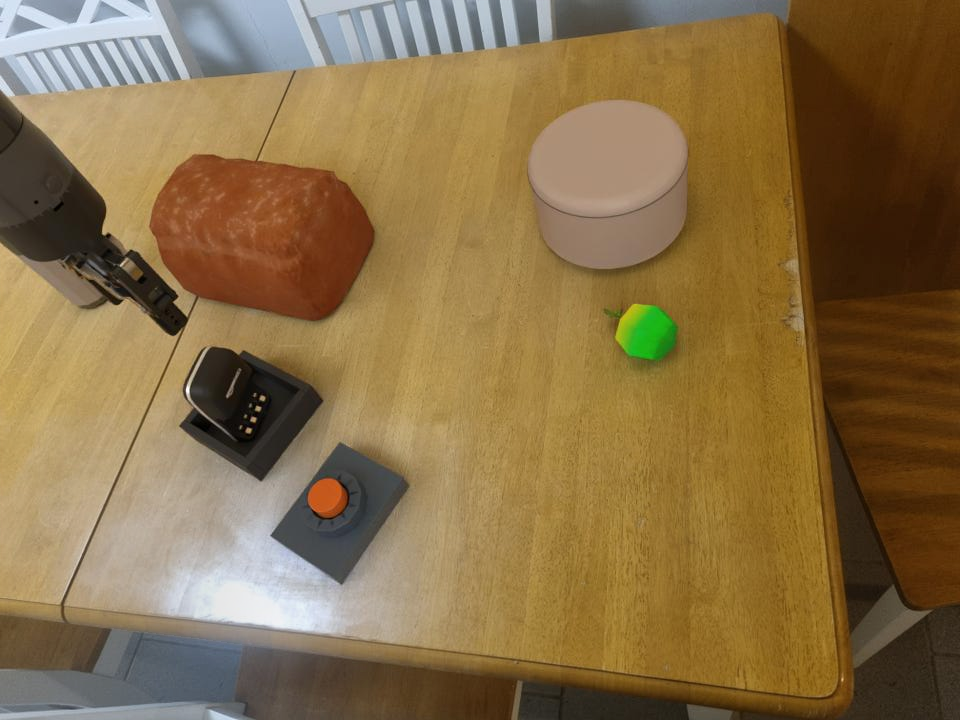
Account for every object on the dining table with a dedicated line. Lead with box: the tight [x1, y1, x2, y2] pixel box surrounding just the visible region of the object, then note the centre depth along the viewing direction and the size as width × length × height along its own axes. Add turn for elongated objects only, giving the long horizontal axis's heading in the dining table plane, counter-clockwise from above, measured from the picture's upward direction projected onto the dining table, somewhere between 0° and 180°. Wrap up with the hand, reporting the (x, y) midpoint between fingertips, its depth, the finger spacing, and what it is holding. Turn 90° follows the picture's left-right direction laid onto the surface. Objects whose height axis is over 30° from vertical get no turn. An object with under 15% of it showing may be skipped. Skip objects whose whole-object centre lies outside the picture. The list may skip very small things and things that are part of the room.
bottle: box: [0, 235, 107, 310], centre depth 93 cm, size 7×7×30 cm
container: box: [526, 99, 690, 270], centre depth 86 cm, size 18×18×12 cm
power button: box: [308, 478, 348, 518], centre depth 74 cm, size 4×4×2 cm
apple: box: [601, 303, 679, 362], centre depth 78 cm, size 7×6×9 cm
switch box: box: [269, 441, 410, 586], centre depth 76 cm, size 12×9×4 cm
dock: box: [178, 349, 324, 482], centre depth 85 cm, size 12×12×4 cm
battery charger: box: [182, 345, 271, 442], centre depth 81 cm, size 7×4×11 cm, turn 166°
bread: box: [148, 153, 375, 322], centre depth 94 cm, size 17×24×15 cm
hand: (150, 312), depth 69 cm, fingers open, 8 cm apart
